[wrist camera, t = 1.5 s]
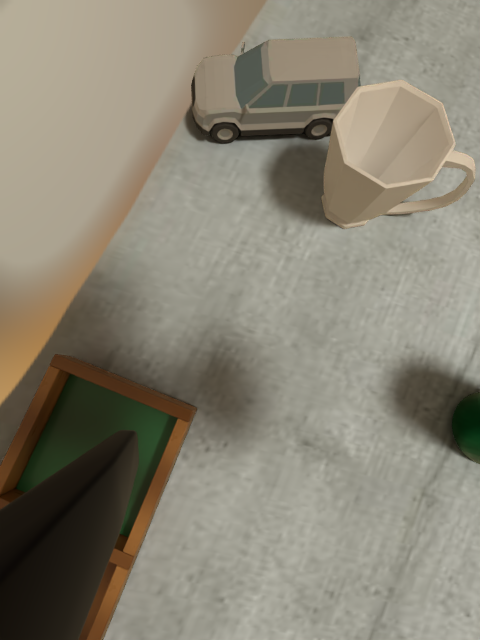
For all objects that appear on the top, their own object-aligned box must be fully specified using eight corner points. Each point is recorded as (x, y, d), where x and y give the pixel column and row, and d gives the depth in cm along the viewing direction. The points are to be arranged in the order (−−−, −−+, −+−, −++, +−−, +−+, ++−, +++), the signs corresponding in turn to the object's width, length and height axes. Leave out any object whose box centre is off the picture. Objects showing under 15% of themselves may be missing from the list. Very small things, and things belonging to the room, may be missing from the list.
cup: (312, 156, 28) (343, 67, 20) (433, 180, 27) (514, 99, 20) (297, 235, 27) (323, 175, 19) (423, 261, 26) (504, 211, 18)
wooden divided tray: (77, 703, 21) (59, 740, 19) (-66, 637, 22) (-99, 666, 20) (197, 408, 24) (193, 411, 22) (70, 355, 25) (54, 353, 23)
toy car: (193, 86, 29) (184, 26, 24) (344, 80, 29) (366, 19, 24) (195, 148, 28) (187, 99, 23) (351, 141, 28) (376, 91, 23)
